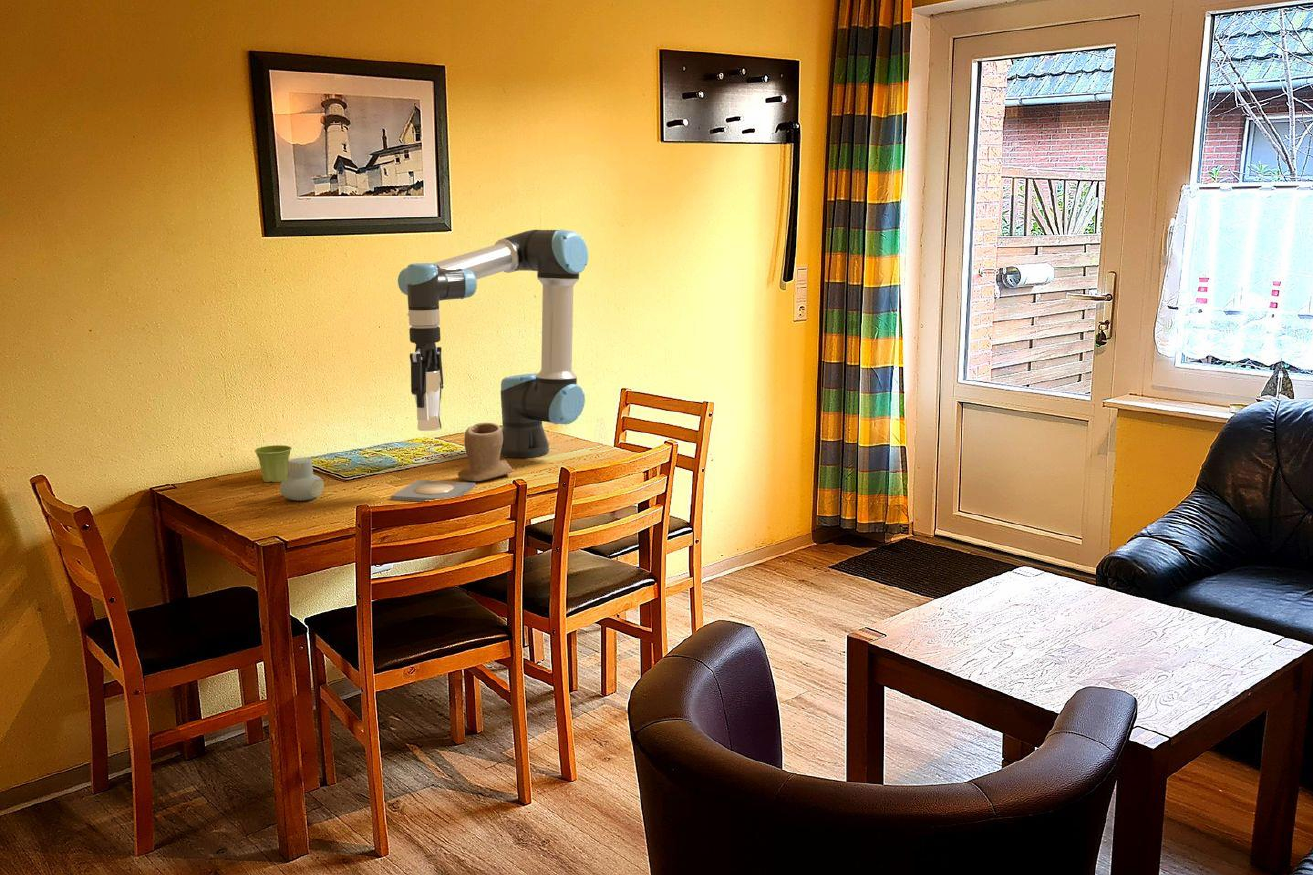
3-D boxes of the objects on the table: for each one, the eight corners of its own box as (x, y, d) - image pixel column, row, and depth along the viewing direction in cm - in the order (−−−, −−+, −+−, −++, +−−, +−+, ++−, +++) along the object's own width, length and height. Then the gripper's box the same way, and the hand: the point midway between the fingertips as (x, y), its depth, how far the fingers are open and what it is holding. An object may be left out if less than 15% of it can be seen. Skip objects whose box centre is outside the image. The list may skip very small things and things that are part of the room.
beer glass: (437, 431, 281) (434, 372, 278) (411, 431, 283) (407, 371, 279) (447, 426, 288) (444, 368, 285) (422, 425, 289) (419, 367, 286)
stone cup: (477, 487, 294) (474, 431, 291) (452, 479, 303) (449, 424, 300) (524, 477, 304) (522, 422, 301) (498, 469, 313) (496, 416, 310)
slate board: (419, 483, 299) (418, 479, 298) (475, 486, 295) (475, 482, 295) (391, 499, 284) (391, 495, 283) (450, 502, 280) (450, 498, 280)
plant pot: (283, 474, 311) (281, 443, 309) (300, 479, 304) (297, 448, 302) (251, 480, 304) (248, 449, 302) (267, 486, 298) (264, 454, 296)
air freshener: (307, 504, 280) (304, 465, 278) (277, 503, 282) (273, 464, 279) (327, 493, 291) (324, 455, 288) (298, 492, 292) (294, 454, 290)
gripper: (427, 321, 290) (431, 409, 295) (392, 330, 271) (398, 424, 276) (454, 322, 288) (458, 410, 293) (421, 331, 270) (426, 425, 275)
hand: (429, 417), depth 285 cm, fingers closed on beer glass, 6 cm apart
